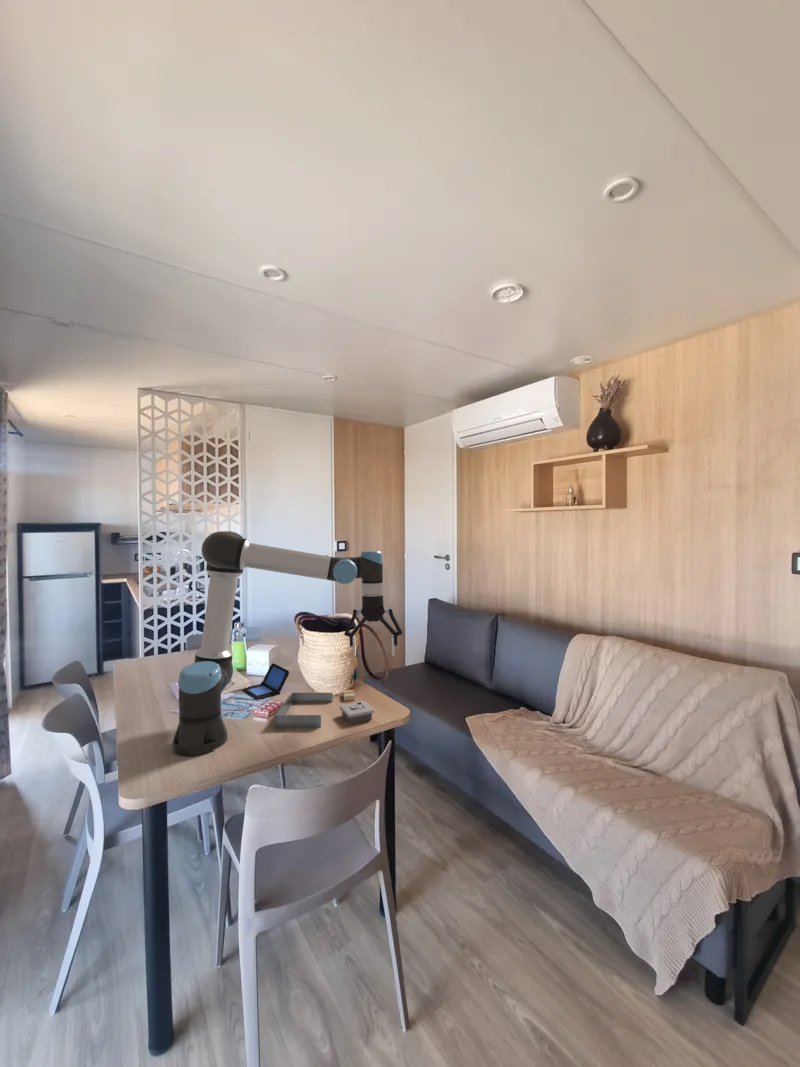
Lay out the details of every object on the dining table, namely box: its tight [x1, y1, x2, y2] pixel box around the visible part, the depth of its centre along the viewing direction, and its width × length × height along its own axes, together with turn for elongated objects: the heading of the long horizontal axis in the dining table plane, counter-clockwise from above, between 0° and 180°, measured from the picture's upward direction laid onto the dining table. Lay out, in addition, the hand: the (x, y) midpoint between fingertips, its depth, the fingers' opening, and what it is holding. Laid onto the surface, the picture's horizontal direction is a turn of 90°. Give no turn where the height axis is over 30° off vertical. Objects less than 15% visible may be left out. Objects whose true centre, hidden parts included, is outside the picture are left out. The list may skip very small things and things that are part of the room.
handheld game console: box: [242, 662, 290, 700], centre depth 180 cm, size 16×13×9 cm
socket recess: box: [273, 692, 334, 729], centre depth 157 cm, size 22×15×4 cm
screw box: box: [342, 689, 356, 702], centre depth 170 cm, size 6×4×3 cm, turn 12°
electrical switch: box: [339, 700, 375, 725], centre depth 152 cm, size 9×5×9 cm
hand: (373, 655), depth 158 cm, fingers open, 13 cm apart
